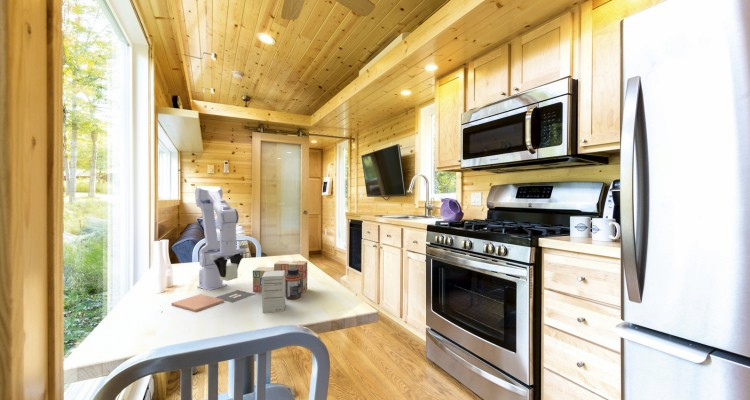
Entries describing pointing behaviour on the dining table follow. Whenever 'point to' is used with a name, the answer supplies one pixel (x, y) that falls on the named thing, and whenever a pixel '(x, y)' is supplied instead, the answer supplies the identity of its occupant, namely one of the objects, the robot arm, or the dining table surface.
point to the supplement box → (273, 291)
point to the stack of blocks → (281, 267)
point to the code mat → (235, 296)
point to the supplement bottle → (293, 284)
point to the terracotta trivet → (197, 302)
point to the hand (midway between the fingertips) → (228, 275)
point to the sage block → (230, 272)
